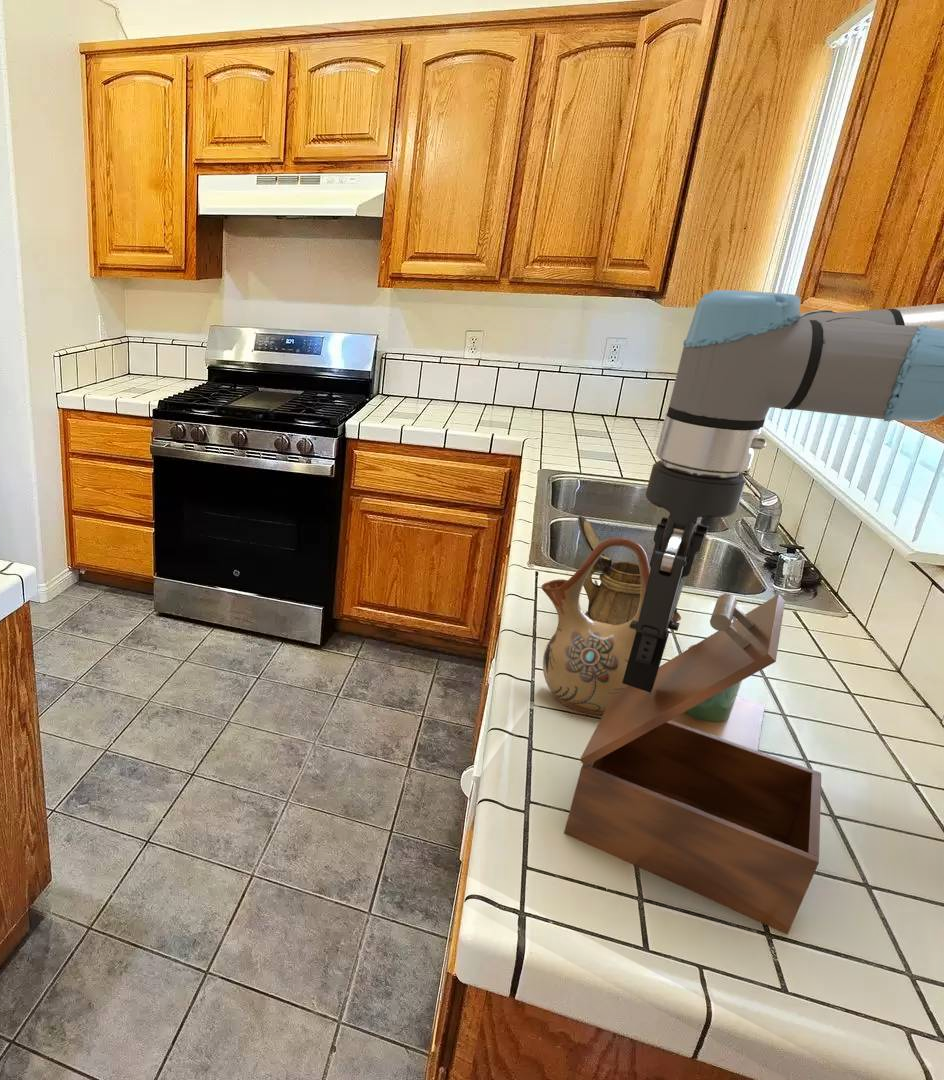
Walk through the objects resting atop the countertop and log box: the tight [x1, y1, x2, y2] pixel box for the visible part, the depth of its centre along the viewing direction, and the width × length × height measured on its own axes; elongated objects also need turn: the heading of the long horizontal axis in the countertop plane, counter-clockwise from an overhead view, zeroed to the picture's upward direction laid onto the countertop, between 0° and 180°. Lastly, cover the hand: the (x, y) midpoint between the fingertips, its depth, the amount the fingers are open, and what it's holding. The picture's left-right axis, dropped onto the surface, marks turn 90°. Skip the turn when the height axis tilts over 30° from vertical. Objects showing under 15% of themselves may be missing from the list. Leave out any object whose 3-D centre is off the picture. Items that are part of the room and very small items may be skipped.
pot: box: [684, 643, 743, 722], centre depth 102 cm, size 7×10×8 cm
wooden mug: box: [577, 515, 641, 625], centre depth 123 cm, size 9×14×18 cm, turn 55°
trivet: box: [670, 695, 766, 751], centre depth 103 cm, size 14×14×1 cm
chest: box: [563, 720, 822, 935], centre depth 78 cm, size 20×16×9 cm
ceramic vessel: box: [540, 537, 682, 716], centre depth 98 cm, size 16×9×25 cm, turn 61°
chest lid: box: [579, 593, 786, 766], centre depth 76 cm, size 20×16×5 cm
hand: (637, 684), depth 78 cm, fingers closed
